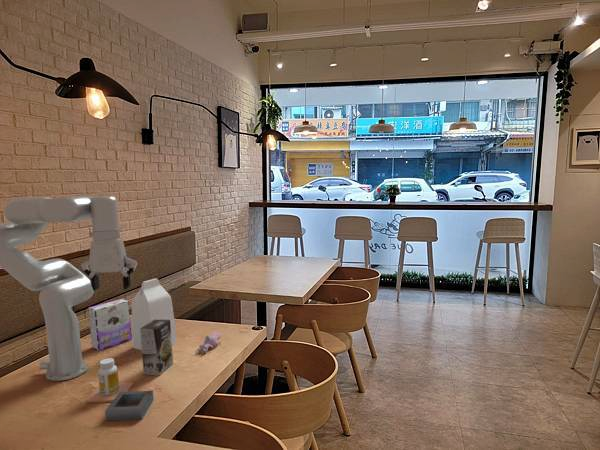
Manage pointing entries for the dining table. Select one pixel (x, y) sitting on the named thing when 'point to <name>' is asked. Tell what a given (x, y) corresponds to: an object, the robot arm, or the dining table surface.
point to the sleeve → (129, 413)
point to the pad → (108, 398)
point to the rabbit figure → (209, 343)
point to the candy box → (110, 324)
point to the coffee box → (156, 347)
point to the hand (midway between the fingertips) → (111, 288)
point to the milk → (151, 309)
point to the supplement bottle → (108, 377)
